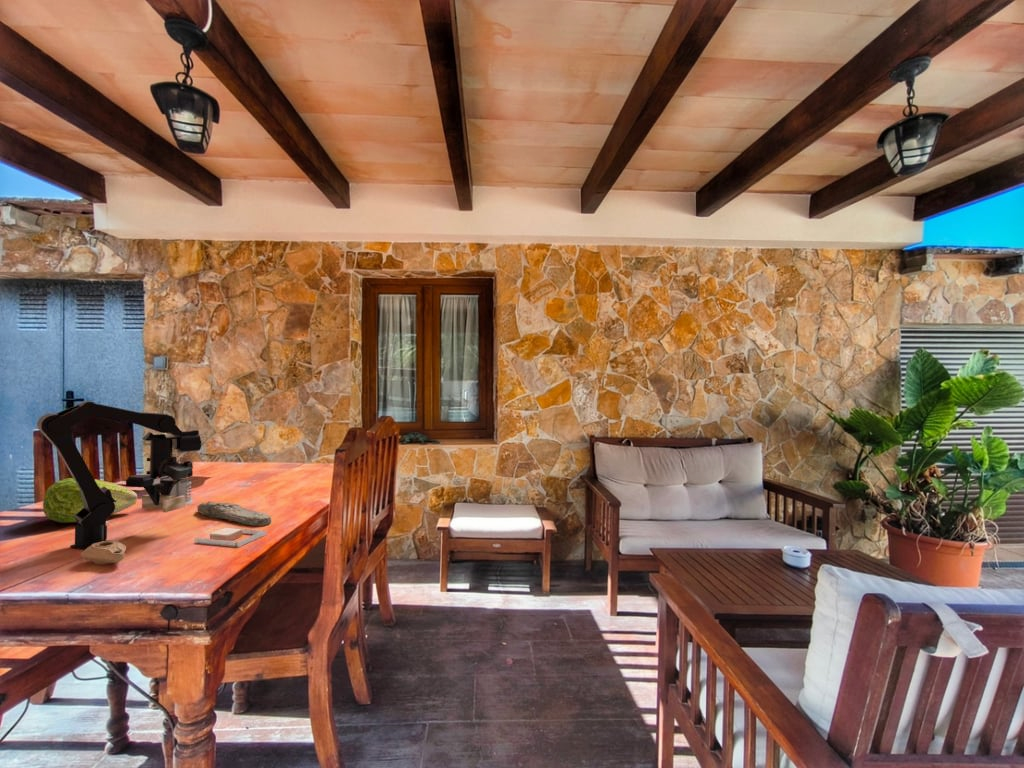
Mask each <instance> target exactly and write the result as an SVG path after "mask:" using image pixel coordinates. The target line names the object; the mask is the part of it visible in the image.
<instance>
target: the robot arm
mask: <svg viewBox="0 0 1024 768" xmlns="http://www.w3.org/2000/svg"><path fill="white" fill-rule="evenodd" d="M90 417H98V418H102V419H108V420H112V421H119V422H122V423H129V424H134V425H137V426H140V427H142V428H145V429H149V430H151V431H154V432H158V433H157V434H153V433H152V432H147V434H146V435H145V436H143V437H142V438H141V440H142V441H146V442H150V449H149V452H150V454H149V457H146V462H149V470H147V471H146V474H136V475H130V476H128V477H127V478H126V479H125V487H133V488H143V489H144V490H145V491H146V493H147V494H149V496H150V498H151V499H152V501H153V503H154V505H159V499H160V495H170V493H171V490H172V488H173V486H174V485H175V484H176V483H178V482H179V481H181V479H182V478H187V477H190V478H191V477H193V476H194V475H193V474H194V473H193V472H194V471H193V470H194V469H193V468H194V466H193V465H194V464H193V462H192V461H190V460H187V461H184V462H180V463H178V461H177V456H174V455H173V453H174V451H173V450H176V452H177V453H179V452H180V453H188V452H191V453H192V452H200V450H201V448H202V445H203V444H202V440H201V436H200V433H199V432H200V430H197V429H193V430H192V429H191V430H183V431H182V430H181V429H180V427H179V426H177V424H176V423H177V422H176V419H175V417H174V416H173V415H171V414H167V413H161V412H144V411H143V412H142V411H140V412H138V411H134V410H131V409H129V410H128V409H126V408H125V409H124V408H120V407H114V406H110V405H105V404H99V403H96V402H94V401H89V400H87V401H83V402H81V403H79V404H77V405H75V406H71V407H69V408H66V409H64V410H61V411H59V412H56V413H46V414H43V415H42V416H41V417H40V418H39V419H38V420H37V423H36V426H37V429H38V430H39V431H40V433H41V434H42V435H43V436H44V437H45V438H46V439H47V440H48V441H49V442H50V443H51V444H52V445H53V446H54V447H55V448H56V451H57V452H58V455H59V456H60V457H61V459H62V461H63V462H64V465H65V467H66V468H67V469H68V471H69V473H70V475H71V476H72V477H71V478H73V479H74V480H75V482H76V484H77V486H78V487H79V489H80V492H81V497H82V502H83V505H84V508H82V509H81V510H80V511H79V512H78V513H77V514H76V515H75V516H74V517H75V519H76V521H77V525H75V526H74V544H71V545H69V547H70V548H72V549H82V550H83V549H84V550H85V549H87V548H88V547H89V546H91V545H92V544H93V543H98V542H102V541H108V540H109V539H108V525H107V520H108V518H109V517H110V516H112V515H113V514H112V513H113V512H114V510H115V504H114V502H116V500H114V499H113V497H112V495H111V492H110V490H109V489H108V488H106V487H102V488H100V487H99V486H98V485H97V483H96V481H95V480H94V479H95V478H94V475H93V474H92V473H91V470H90V469H89V467H88V465H87V464H86V462H85V460H84V458H83V456H82V455H81V453H80V451H79V449H78V448H77V445H76V444H75V441H74V433H73V430H72V427H73V426H75V425H77V424H79V423H80V422H82V421H85V420H86V419H88V418H90ZM159 433H160V434H159ZM166 434H167V435H171V436H166ZM111 514H112V515H111Z"/></svg>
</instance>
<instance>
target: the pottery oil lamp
mask: <svg viewBox="0 0 1024 768" xmlns="http://www.w3.org/2000/svg"><path fill="white" fill-rule="evenodd" d="M107 540H108V541H102V542H98V543H93V544H92V545H91V546H89V547H88V548H87V549H84V550H83V551H82V552H81V553H80V556H81V558H83V559H85V560H87V561H90V562H92V563H93V564H95V565H102V566H104V565H109V563H110V564H116V563H119V562H121V561H123V560H124V558H125V556H126V553H125V551H126V550H127V546H126V545H125V544H124V543H121V542H119V541H118V540H113V539H107Z"/></svg>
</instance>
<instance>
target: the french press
mask: <svg viewBox="0 0 1024 768" xmlns="http://www.w3.org/2000/svg"><path fill="white" fill-rule="evenodd" d="M180 453H181V452H178V454H179V455H178V461H177V463H181V462H180V459H181V458H180V456H181V455H180ZM190 478H191V476H190V477H187V478H182V479H181V481H179V482H178V483H176V484H175V485H174V486H173V488H172V490H171V493H170V495H174V496H176V497H179V496H185V506H186V505H188V506H189V505H190V504H193V503H194V500H193V499H192V496H191V495H192V480H191V479H190Z"/></svg>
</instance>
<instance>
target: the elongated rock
mask: <svg viewBox="0 0 1024 768" xmlns="http://www.w3.org/2000/svg"><path fill="white" fill-rule="evenodd" d="M196 508H197V510H196V511H197V512H198V513H201V514H202V515H204V516H207V517H208V518H213V519H219V520H224V519H225V520H227V521H228V522H235V523H238V524H240V525H241V524H242V525H245V526H253V527H263V526H268V525H270V524H272V518H271V516H270V515H269V514H267V513H264V512H260V511H256V510H252V509H247V508H246V507H243V506H241V505H239V504H236V503H233V502H232V503H230V502H213V501H207V502H202V503H199V504H198V505H196Z"/></svg>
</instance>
